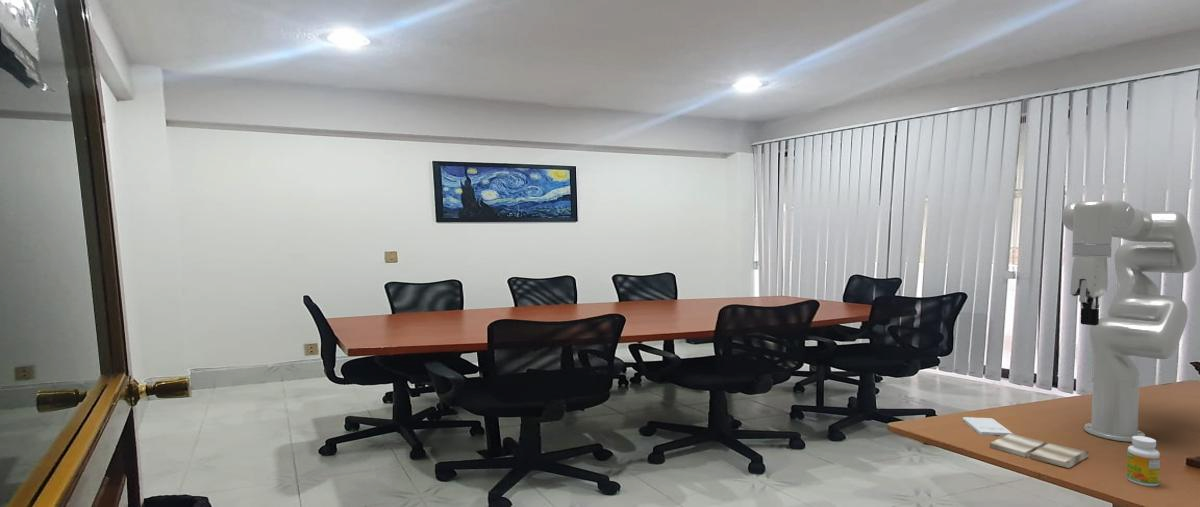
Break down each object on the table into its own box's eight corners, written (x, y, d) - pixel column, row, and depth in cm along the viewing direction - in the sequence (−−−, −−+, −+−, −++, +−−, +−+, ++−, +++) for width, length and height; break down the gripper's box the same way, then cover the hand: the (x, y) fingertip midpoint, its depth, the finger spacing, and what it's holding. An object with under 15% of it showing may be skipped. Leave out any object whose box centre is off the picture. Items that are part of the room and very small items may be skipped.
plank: (1049, 447, 155) (1049, 442, 155) (1088, 456, 149) (1088, 450, 149) (1029, 458, 149) (1029, 452, 149) (1068, 468, 142) (1068, 462, 142)
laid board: (1010, 437, 163) (1010, 433, 163) (1048, 447, 156) (1048, 442, 156) (989, 447, 156) (989, 442, 156) (1027, 458, 149) (1027, 453, 149)
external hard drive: (993, 423, 176) (1013, 438, 164) (962, 422, 178) (980, 437, 165) (993, 418, 176) (1014, 432, 164) (962, 416, 177) (980, 431, 165)
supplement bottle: (1120, 477, 137) (1121, 435, 137) (1141, 476, 138) (1143, 434, 137) (1143, 487, 132) (1144, 443, 132) (1165, 486, 133) (1167, 442, 132)
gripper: (1084, 249, 158) (1082, 319, 159) (1061, 251, 150) (1059, 325, 151) (1121, 250, 152) (1119, 323, 153) (1099, 252, 143) (1097, 329, 144)
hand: (1089, 324), depth 152 cm, fingers closed
